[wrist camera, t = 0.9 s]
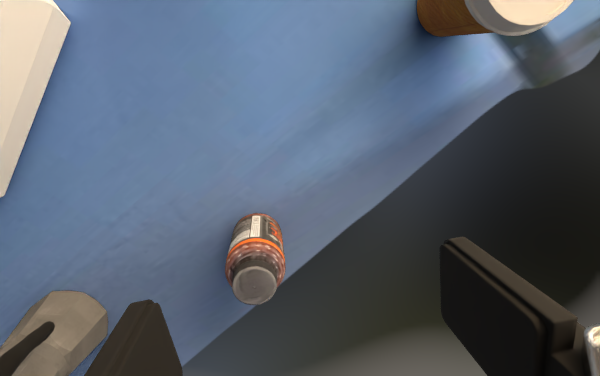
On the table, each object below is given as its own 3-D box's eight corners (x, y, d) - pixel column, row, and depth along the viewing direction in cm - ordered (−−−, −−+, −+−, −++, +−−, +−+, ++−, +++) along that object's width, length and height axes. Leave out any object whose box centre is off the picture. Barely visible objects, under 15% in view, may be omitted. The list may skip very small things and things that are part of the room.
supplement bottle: (289, 242, 39) (299, 297, 28) (248, 263, 39) (242, 326, 29) (267, 202, 37) (268, 246, 27) (223, 225, 38) (207, 277, 27)
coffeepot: (89, 370, 41) (-35, 564, 24) (13, 345, 39) (-182, 540, 22) (137, 280, 38) (35, 430, 21) (58, 248, 36) (-126, 386, 19)
